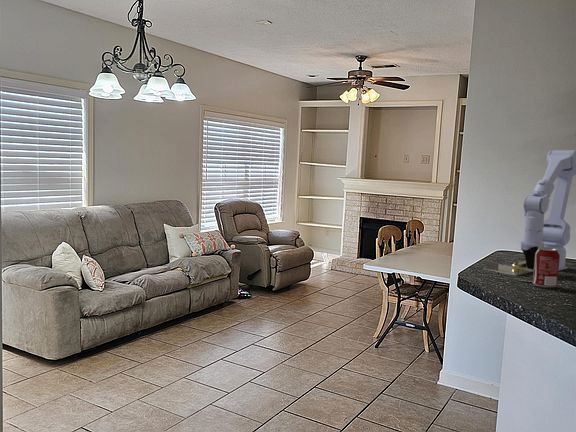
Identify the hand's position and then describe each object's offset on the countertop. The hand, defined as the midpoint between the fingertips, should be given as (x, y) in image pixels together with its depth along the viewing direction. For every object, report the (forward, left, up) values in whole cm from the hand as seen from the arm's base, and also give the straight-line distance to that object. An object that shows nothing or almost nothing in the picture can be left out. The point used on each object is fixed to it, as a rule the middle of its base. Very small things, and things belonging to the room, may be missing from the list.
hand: (530, 268), depth 179 cm
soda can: (+18, +12, -2) cm, 22 cm away
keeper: (+7, -8, -2) cm, 11 cm away
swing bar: (+3, -2, -1) cm, 4 cm away
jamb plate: (+3, -7, -2) cm, 7 cm away
